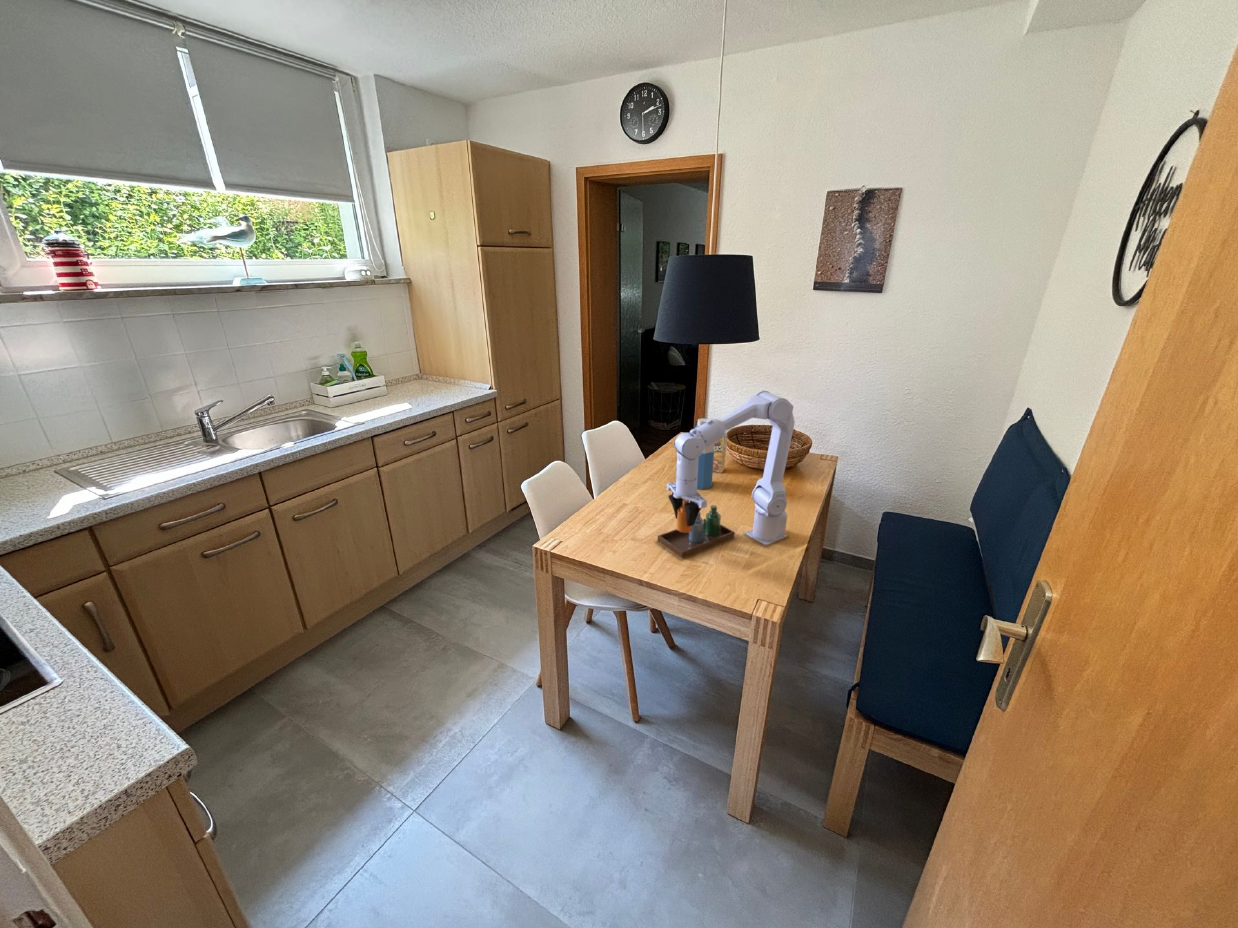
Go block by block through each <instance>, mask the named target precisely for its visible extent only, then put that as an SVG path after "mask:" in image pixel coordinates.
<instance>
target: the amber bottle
mask: <svg viewBox="0 0 1238 928" xmlns="http://www.w3.org/2000/svg"><path fill="white" fill-rule="evenodd" d="M687 503H690V501H689V500H685V499H683V504H682V505H681V507H680V508H678V511H677V519H676V529H677V530H678V531H679V532H682V533H689V532H691V531H692V529H693V525H692V526H687V515H686V510H685V507H684V504H687Z"/></svg>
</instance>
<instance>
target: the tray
mask: <svg viewBox="0 0 1238 928" xmlns="http://www.w3.org/2000/svg"><path fill="white" fill-rule="evenodd" d="M702 519H703V518H702ZM703 520H704V522H706V518H704V519H703ZM733 538H735V531H734V530H732V529H730V528H728V527H726V526H724V525H723V524H721V523H720V534H719V535H718V536H715V537H712V536H708V535H706V534H705V524H704V540H703V541H702V542H700V543H694V542H691V541H690V540H689V533H682V532H679V531H678V530H677V528H675V529H673V530H670V531H667V532H664V533H661V534H659V535H657V542H658V543H659V544H660V545H662V546H663V547H664V548H666V549H668V550H670V551H671V552H673V553H674V554H675V555H677V556H678V557H679V558H681V559H684V558H686V557H689V556H692V555H694V554H696V553H700V552H702V551H704V550H706V549H709V548H711V547H714V546H716V545H719V544H722V543H724V542H726V541H730V540H732V539H733Z"/></svg>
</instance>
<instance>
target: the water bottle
mask: <svg viewBox="0 0 1238 928" xmlns="http://www.w3.org/2000/svg"><path fill="white" fill-rule="evenodd" d="M708 419H709V418H703V417H702V418H698V419H697V425H696V426H695V427H694V429H696V428H698V427H699V426H701V425H703V424H705V423H706V422H705V421H706V420H708ZM714 447H715V443H713V444H711V445H710V446H708V447H706V449H704V450H703V452H702V454H701V455H700V456H699V460H698V479H697V490H707V489H710V488H712V485H713V475H714V474H713V473H714V471H713V462H714Z"/></svg>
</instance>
